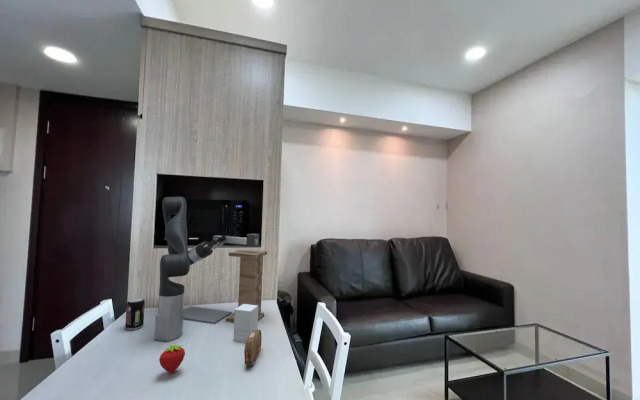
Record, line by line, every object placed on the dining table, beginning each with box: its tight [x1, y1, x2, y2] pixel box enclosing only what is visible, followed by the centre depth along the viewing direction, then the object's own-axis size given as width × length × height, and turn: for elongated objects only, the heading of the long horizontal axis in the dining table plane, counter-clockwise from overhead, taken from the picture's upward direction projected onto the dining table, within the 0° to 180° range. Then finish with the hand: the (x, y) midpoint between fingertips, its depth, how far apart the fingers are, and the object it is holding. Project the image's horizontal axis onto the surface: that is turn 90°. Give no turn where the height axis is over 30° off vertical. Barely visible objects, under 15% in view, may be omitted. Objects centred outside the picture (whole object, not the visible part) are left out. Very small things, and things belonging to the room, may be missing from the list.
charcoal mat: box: [183, 305, 233, 325], centre depth 136 cm, size 14×24×1 cm, turn 76°
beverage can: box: [124, 297, 146, 331], centre depth 120 cm, size 7×7×12 cm
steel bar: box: [212, 233, 260, 246], centre depth 137 cm, size 5×23×5 cm, turn 76°
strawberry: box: [158, 340, 186, 375], centre depth 88 cm, size 6×8×10 cm
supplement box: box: [233, 304, 259, 343], centre depth 114 cm, size 7×7×13 cm
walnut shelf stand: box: [225, 249, 268, 324], centre depth 134 cm, size 12×14×32 cm
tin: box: [243, 329, 263, 366], centre depth 99 cm, size 15×3×8 cm, turn 179°
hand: (227, 236), depth 138 cm, fingers closed on steel bar, 3 cm apart
